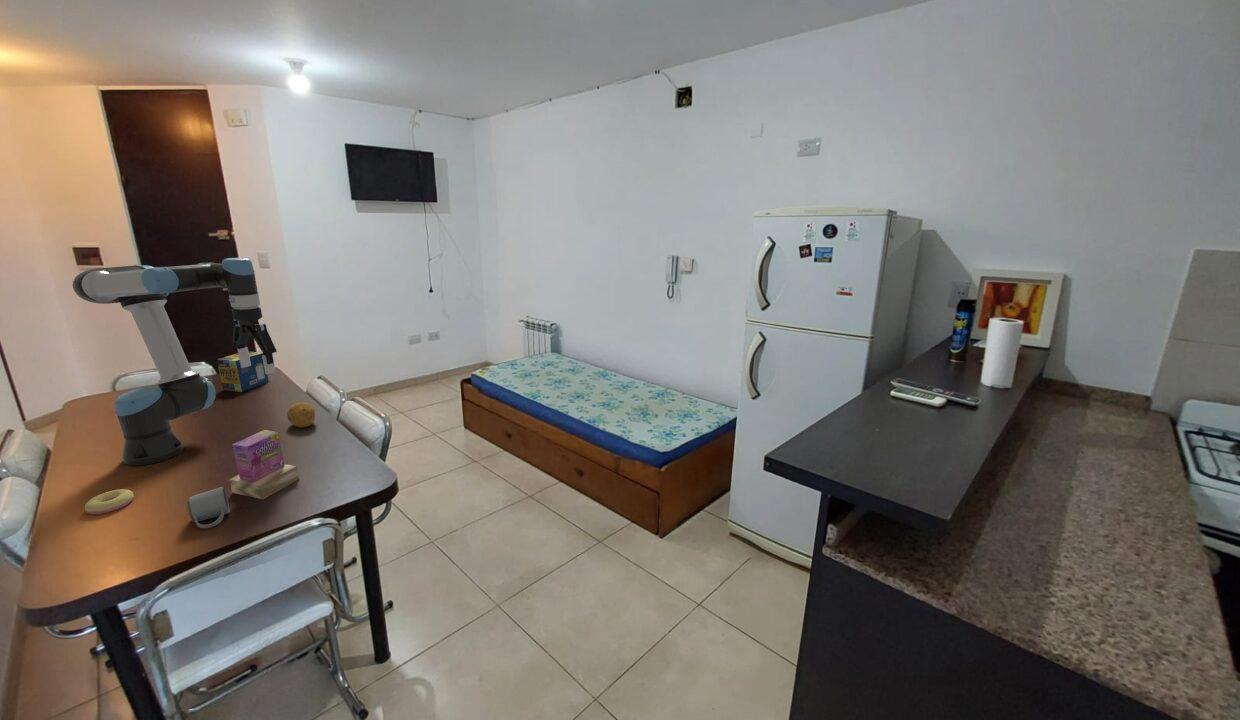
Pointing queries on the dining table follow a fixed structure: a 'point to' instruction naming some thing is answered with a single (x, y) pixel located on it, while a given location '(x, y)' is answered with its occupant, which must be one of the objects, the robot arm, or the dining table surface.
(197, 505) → the ceramic mug
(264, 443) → the box
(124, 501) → the donut
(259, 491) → the maple block
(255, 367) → the protein box
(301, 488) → the dining table surface
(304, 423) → the potato
